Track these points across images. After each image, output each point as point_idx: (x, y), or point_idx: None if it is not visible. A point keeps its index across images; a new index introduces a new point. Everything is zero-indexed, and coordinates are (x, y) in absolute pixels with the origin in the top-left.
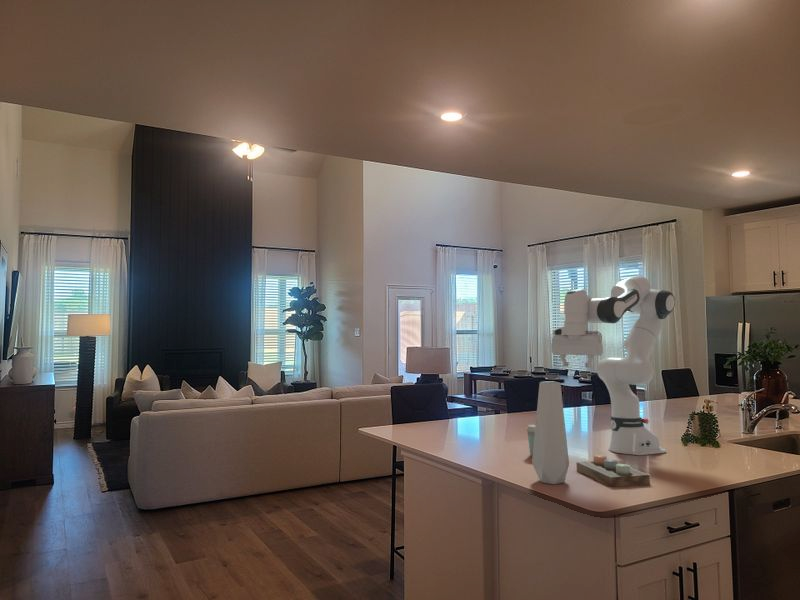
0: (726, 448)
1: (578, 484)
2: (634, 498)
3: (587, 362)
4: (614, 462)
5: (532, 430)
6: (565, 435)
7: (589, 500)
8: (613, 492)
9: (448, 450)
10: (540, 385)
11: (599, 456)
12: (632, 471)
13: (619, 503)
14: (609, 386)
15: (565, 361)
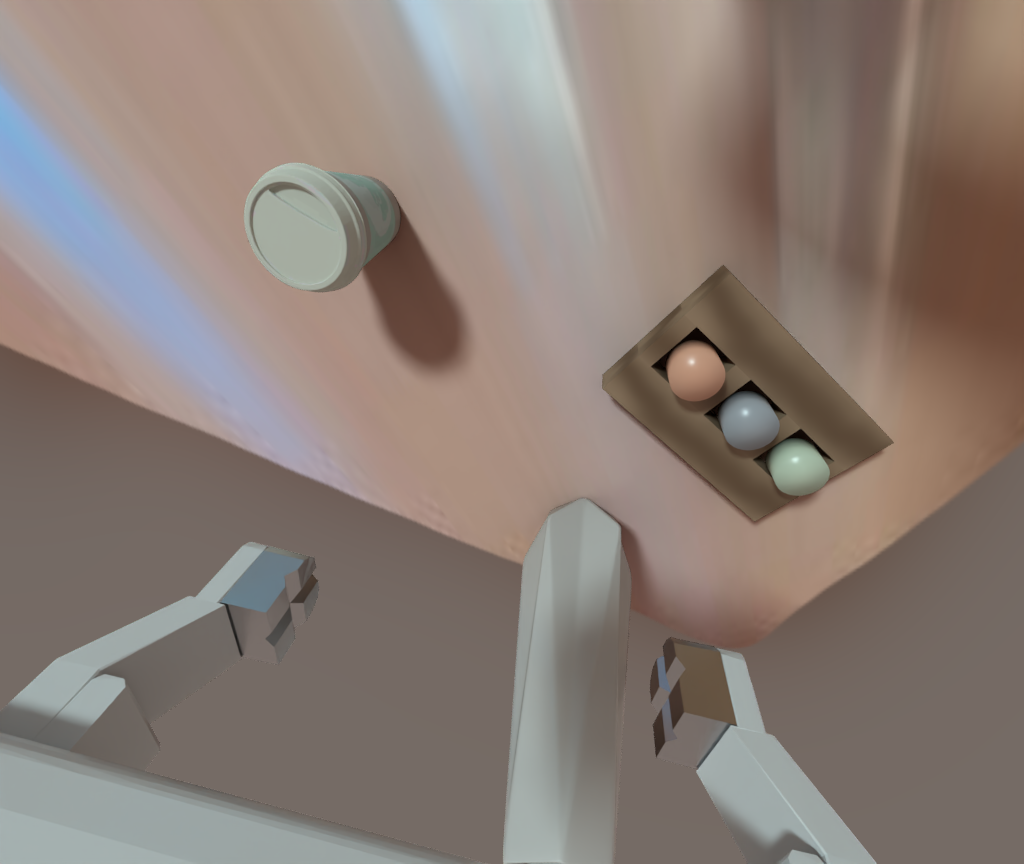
0: None
1: (654, 517)
2: (817, 567)
3: (705, 781)
4: (766, 444)
5: (317, 291)
6: (619, 618)
7: (710, 612)
8: (759, 544)
9: (110, 337)
10: None
11: (695, 381)
12: (828, 425)
13: (780, 608)
14: None
15: (225, 635)
